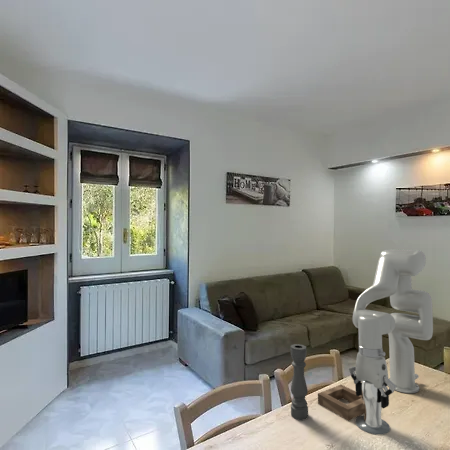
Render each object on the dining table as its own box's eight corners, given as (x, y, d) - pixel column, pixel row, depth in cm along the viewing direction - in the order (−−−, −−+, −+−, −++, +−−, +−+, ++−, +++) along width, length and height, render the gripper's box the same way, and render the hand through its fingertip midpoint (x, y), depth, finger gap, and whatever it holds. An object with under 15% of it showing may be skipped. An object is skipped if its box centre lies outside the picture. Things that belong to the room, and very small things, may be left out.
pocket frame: (341, 394, 133) (341, 384, 133) (372, 409, 121) (371, 398, 121) (317, 403, 126) (317, 393, 126) (348, 421, 114) (348, 409, 114)
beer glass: (386, 430, 107) (385, 385, 108) (364, 428, 109) (363, 383, 109) (380, 419, 114) (379, 376, 115) (360, 417, 116) (359, 375, 116)
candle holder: (308, 412, 120) (307, 344, 121) (307, 421, 114) (306, 350, 115) (292, 409, 122) (291, 343, 123) (289, 418, 116) (288, 348, 117)
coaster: (367, 412, 119) (367, 411, 119) (396, 427, 110) (396, 426, 110) (348, 422, 113) (348, 421, 113) (377, 438, 104) (377, 437, 104)
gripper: (400, 356, 107) (402, 408, 106) (355, 342, 122) (356, 388, 121) (387, 361, 103) (389, 415, 102) (342, 346, 118) (343, 393, 117)
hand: (371, 400), depth 112 cm, fingers open, 9 cm apart
